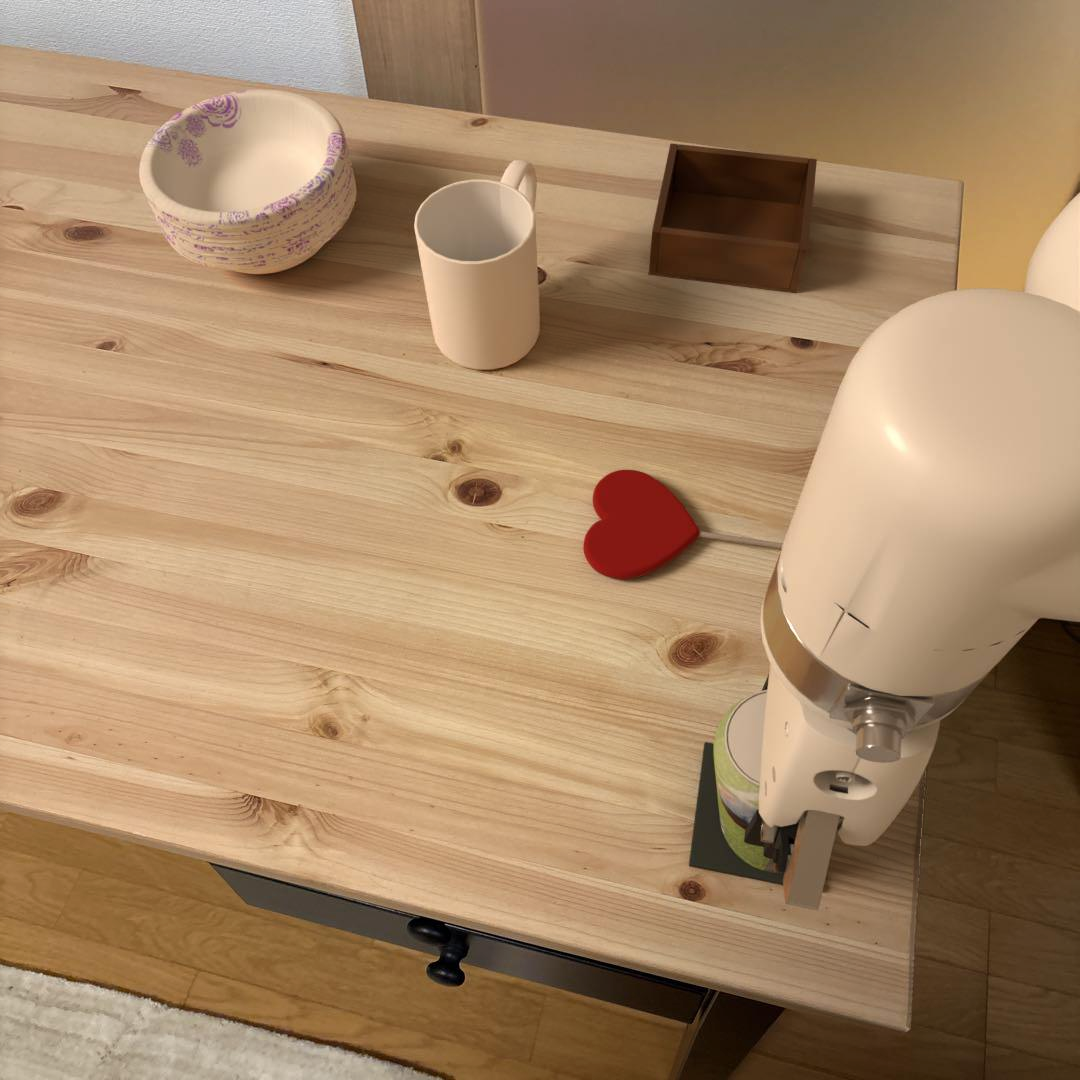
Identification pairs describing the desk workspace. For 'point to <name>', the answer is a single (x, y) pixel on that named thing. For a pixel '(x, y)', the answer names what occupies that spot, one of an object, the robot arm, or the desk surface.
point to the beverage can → (741, 775)
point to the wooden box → (733, 217)
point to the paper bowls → (249, 180)
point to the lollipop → (641, 526)
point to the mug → (482, 268)
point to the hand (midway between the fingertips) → (783, 774)
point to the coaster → (717, 831)
